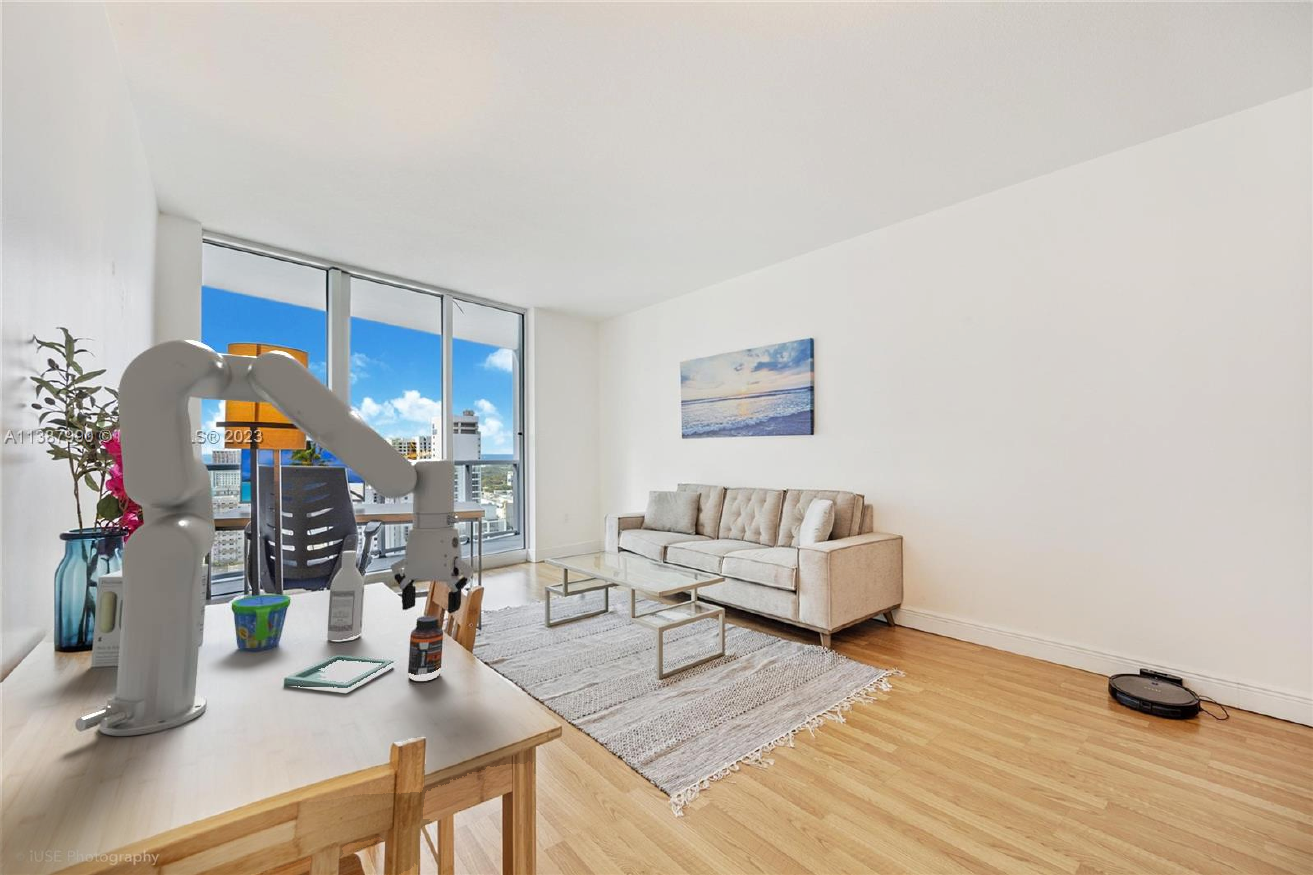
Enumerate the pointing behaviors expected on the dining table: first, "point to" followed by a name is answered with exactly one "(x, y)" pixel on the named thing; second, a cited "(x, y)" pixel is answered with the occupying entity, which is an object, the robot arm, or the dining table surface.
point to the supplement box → (119, 618)
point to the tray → (310, 676)
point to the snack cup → (259, 621)
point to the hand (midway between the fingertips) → (431, 609)
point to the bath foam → (346, 600)
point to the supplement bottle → (425, 646)
